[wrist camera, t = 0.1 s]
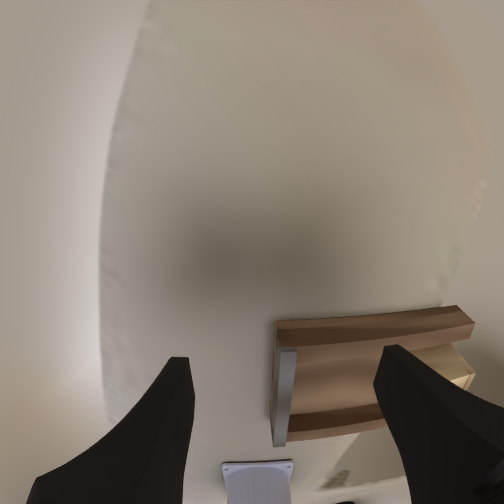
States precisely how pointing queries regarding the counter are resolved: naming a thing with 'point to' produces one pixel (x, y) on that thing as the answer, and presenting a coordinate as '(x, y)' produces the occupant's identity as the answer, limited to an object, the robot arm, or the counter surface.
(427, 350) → the box
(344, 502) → the cup
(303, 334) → the bay
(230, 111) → the counter surface
